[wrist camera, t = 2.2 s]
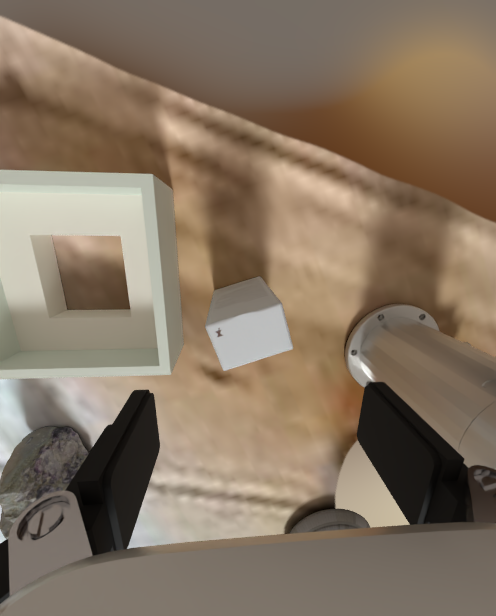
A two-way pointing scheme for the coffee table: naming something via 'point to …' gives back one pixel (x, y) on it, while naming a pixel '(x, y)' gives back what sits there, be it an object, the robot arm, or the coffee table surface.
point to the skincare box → (247, 323)
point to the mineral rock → (38, 470)
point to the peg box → (48, 287)
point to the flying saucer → (330, 521)
